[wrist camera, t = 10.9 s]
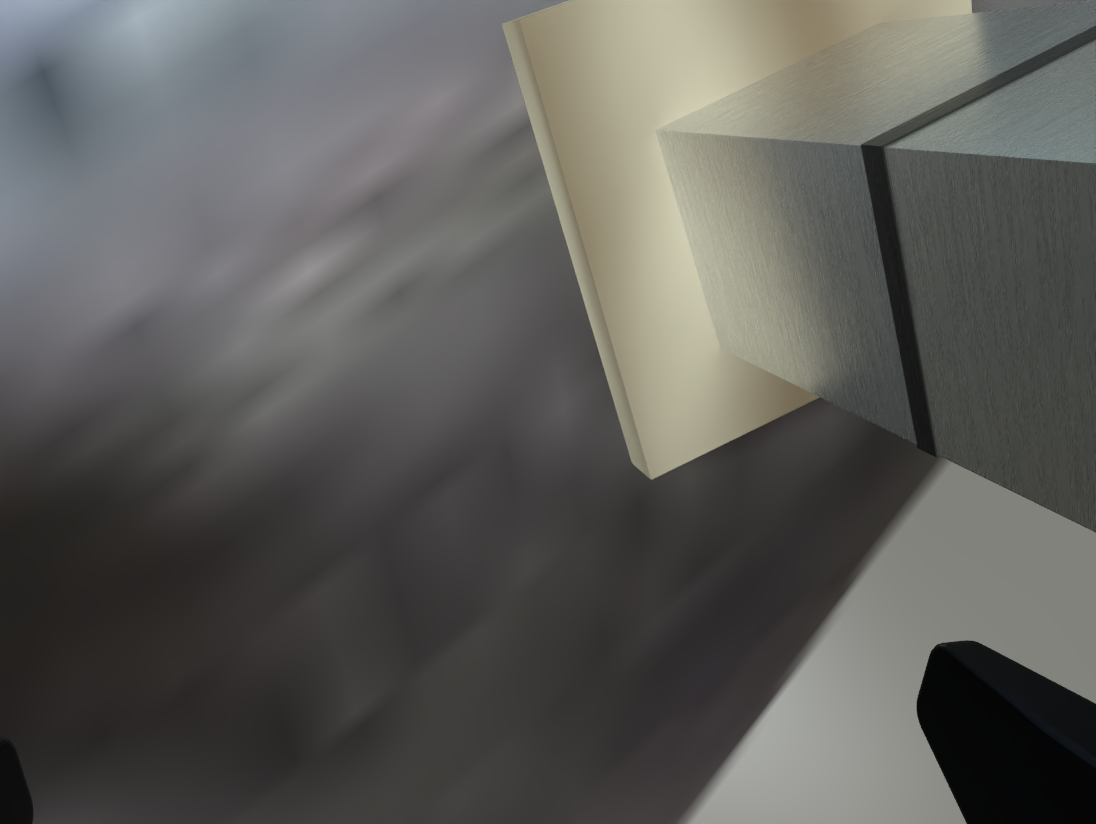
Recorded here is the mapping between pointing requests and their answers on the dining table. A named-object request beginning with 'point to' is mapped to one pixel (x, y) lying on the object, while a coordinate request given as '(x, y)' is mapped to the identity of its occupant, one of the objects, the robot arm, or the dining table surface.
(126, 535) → the dining table surface
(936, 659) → the robot arm
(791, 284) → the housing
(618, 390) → the stand
